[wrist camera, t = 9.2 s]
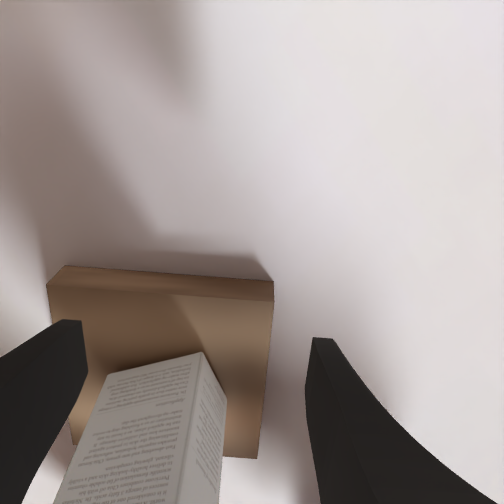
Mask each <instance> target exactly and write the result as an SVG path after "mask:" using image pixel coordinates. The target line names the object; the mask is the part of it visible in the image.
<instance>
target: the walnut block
mask: <svg viewBox="0 0 504 504" xmlns="http://www.w3.org/2000/svg"><path fill="white" fill-rule="evenodd" d="M46 288H47V294H48V300H49V306H50V312H51V318H52V323H53V324H54V323H56V322H58V321H59V320H61V319H69V320H82V327H83V335H84V342H85V349H86V357H87V364H88V371H89V372H88V375H87V377H86V380H85V382H84V385H83V387H82V390H81V392H80V395H79V397H78V399H77V402H76V403H75V405H74V407H73V409H72V411H71V412H70V414H69V416H68V418H69V424H70V430H71V436H72V442H73V445H78V443H79V441H80V439H81V436H82V434H83V432H84V429H85V427H86V425H87V422H88V420H89V417H90V415H91V413H92V410H93V408H94V406H95V403H96V401H97V398H98V396H99V394H100V392H101V389H102V387H103V385H104V382H105V380H106V377H107V376H108V375H109V374H111V373H116V372H120V371H124V370H128V369H133V368H137V367H141V366H145V365H149V364H153V363H157V362H161V361H166V360H170V359H174V358H179V357H183V356H187V355H191V354H195V353H198V352H203V354H204V356H205V358H206V360H207V362H208V363H209V366H210V367H211V369H212V371H213V373H214V375H215V377H216V379H217V381H218V383H219V385H220V386H221V388H222V390H223V392H224V394H225V395H226V398H227V409H226V420H225V433H224V445H223V456H225V457H238V458H251V459H257V456H258V447H259V438H260V428H261V419H262V410H263V401H264V392H265V383H266V373H267V364H268V355H269V346H270V337H271V328H272V318H273V309H274V281H262V280H249V279H236V278H222V277H209V276H196V275H183V274H170V273H157V272H144V271H130V270H117V269H104V268H91V267H78V266H64V267H63V268H62V269H61V270H60V271H59V272H58V273H57V274H56V275H55V276H54V277H53V278H52V279H51V280H50V281H49V282H48V283H47V284H46Z"/></svg>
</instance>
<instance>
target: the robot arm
mask: <svg viewBox="0 0 504 504" xmlns="http://www.w3.org/2000/svg"><path fill="white" fill-rule="evenodd" d="M88 372H89V371H88V364H87V357H86V349H85V342H84V335H83V327H82V320H69V319H61V320H59V321H58V322H56V323H54V324H53V325H51V326H49V327H48V328H46V329H45V330H43V331H42V332H40V333H38V334H37V335H35V336H34V337H32V338H31V339H29V340H28V341H26V342H24V343H23V344H21V345H20V346H18V347H17V348H15V349H13V350H12V351H10V352H9V353H7V354H6V355H4V356H2V357H1V358H0V504H22V501H23V499H24V497H25V495H26V492H27V490H28V488H29V486H30V484H31V482H32V480H33V478H34V476H35V474H36V472H37V470H38V468H39V467H40V465H41V463H42V461H43V460H44V458H45V456H46V455H47V453H48V451H49V449H50V448H51V446H52V444H53V442H54V441H55V439H56V437H57V435H58V434H59V432H60V430H61V428H62V427H63V425H64V423H65V421H66V420H67V418H68V416H69V414H70V412H71V411H72V409H73V407H74V405H75V403H76V402H77V399H78V397H79V395H80V392H81V390H82V387H83V385H84V382H85V380H86V377H87V375H88ZM305 400H306V417H307V424H308V430H309V436H310V442H311V447H312V453H313V459H314V464H315V470H316V476H317V482H318V487H319V494H320V501H321V504H497V503H496V502H494V501H493V500H491V499H490V498H488V497H487V496H485V495H484V494H482V493H481V492H479V491H478V490H477V489H475V488H474V487H473V486H471V485H470V484H469V483H467V482H466V481H465V480H463V479H462V478H461V477H459V476H458V475H456V474H455V473H454V472H453V471H451V470H450V469H449V468H448V467H446V466H445V465H444V464H443V463H441V462H440V461H439V460H438V459H437V458H436V457H434V456H433V455H432V454H431V453H430V452H429V451H427V450H426V449H425V448H424V447H423V446H422V445H421V444H419V443H418V442H417V441H416V440H415V439H414V438H413V437H412V436H411V435H410V434H409V433H408V432H407V431H406V430H405V429H404V428H403V427H402V426H401V425H400V424H399V423H398V422H397V421H396V420H395V419H394V418H393V417H392V416H391V415H390V414H389V413H388V412H387V410H386V409H385V408H384V407H383V406H382V405H381V403H380V402H379V401H378V400H377V399H376V398H375V396H374V395H373V394H372V393H371V391H370V390H369V389H368V388H367V386H366V385H365V384H364V382H363V381H362V380H361V378H360V377H359V376H358V374H357V373H356V372H355V370H354V369H353V368H352V366H351V365H350V363H349V362H348V360H347V359H346V357H345V356H344V354H343V353H342V351H341V350H340V348H339V347H338V345H337V344H336V342H335V341H334V340H333V339H330V338H316V337H313V339H312V346H311V352H310V358H309V365H308V371H307V377H306V384H305Z"/></svg>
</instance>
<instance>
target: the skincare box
mask: <svg viewBox="0 0 504 504" xmlns="http://www.w3.org/2000/svg"><path fill="white" fill-rule="evenodd" d="M226 409H227V398H226V395H225V394H224V392H223V390H222V388H221V386H220V385H219V383H218V381H217V379H216V377H215V375H214V373H213V371H212V369H211V367H210V366H209V363H208V362H207V360H206V358H205V356H204V354H203V352H198V353H195V354H191V355H187V356H183V357H179V358H174V359H170V360H166V361H161V362H157V363H153V364H149V365H145V366H141V367H137V368H133V369H128V370H124V371H120V372H116V373H111V374H109V375H108V376H107V377H106V380H105V382H104V385H103V387H102V389H101V392H100V394H99V396H98V398H97V401H96V403H95V406H94V408H93V410H92V413H91V415H90V417H89V420H88V422H87V425H86V427H85V429H84V432H83V434H82V436H81V439H80V441H79V443H78V446H77V448H76V451H75V453H74V455H73V457H72V460H71V462H70V465H69V467H68V469H67V472H66V474H65V476H64V479H63V481H62V483H61V486H60V488H59V490H58V493H57V495H56V498H55V500H54V502H53V504H219V493H220V481H221V469H222V457H223V445H224V433H225V420H226Z"/></svg>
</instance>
